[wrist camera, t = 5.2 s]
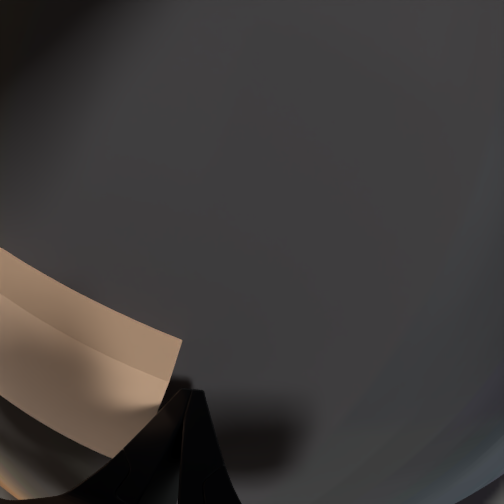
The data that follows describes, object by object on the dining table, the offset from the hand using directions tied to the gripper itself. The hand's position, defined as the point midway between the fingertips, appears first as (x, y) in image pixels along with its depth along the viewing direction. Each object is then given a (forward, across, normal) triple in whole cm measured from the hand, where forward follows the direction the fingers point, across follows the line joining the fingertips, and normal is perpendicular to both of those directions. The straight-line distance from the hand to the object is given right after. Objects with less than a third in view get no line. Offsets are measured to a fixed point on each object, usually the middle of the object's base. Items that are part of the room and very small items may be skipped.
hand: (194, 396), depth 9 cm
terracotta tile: (+1, +8, -1) cm, 8 cm away
